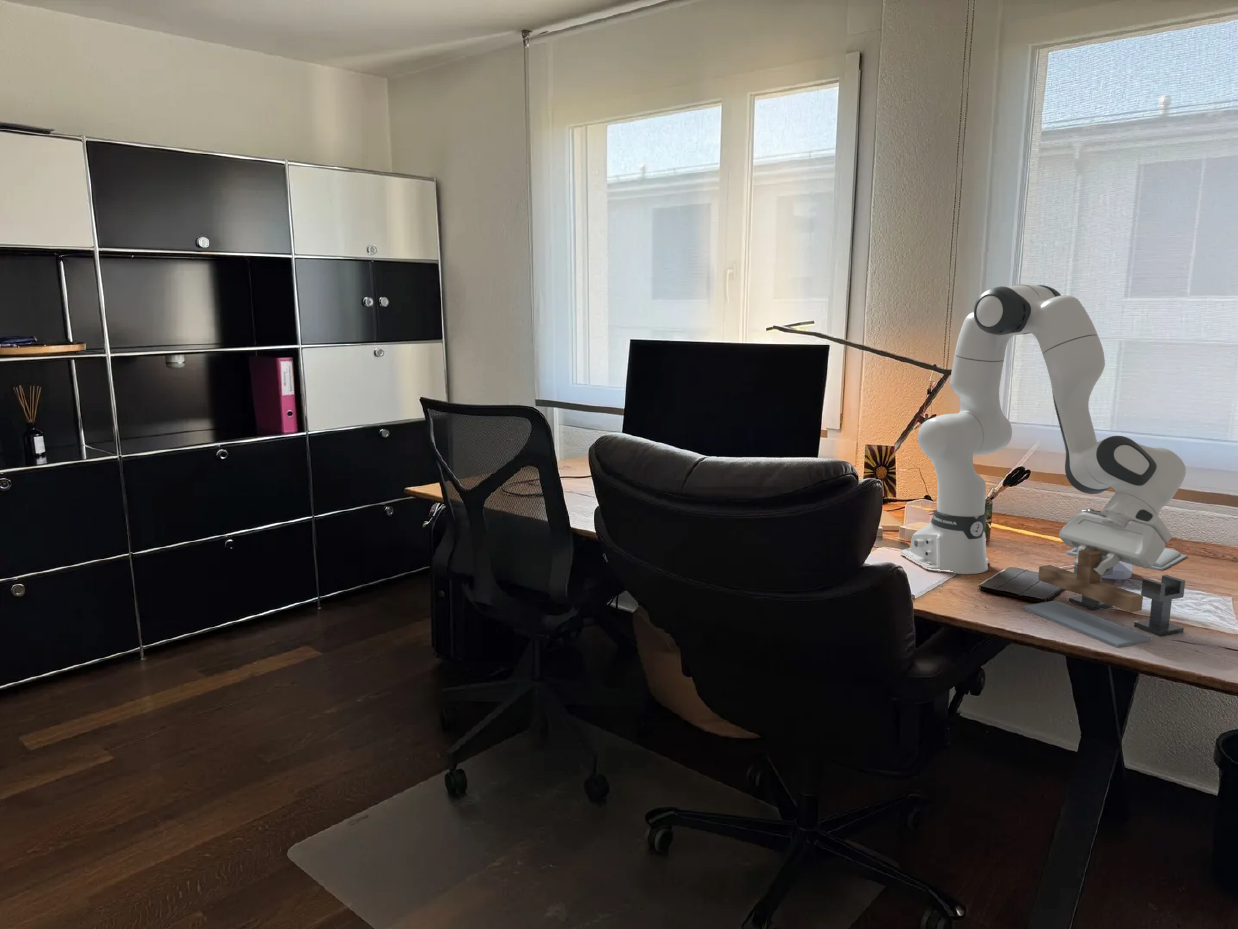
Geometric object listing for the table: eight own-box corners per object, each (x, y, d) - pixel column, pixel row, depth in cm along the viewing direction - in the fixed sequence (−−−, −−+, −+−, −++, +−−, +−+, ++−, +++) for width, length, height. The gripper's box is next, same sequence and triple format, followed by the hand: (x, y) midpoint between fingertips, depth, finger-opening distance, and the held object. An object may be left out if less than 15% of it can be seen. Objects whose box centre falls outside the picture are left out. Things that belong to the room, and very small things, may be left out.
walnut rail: (1038, 580, 183) (1041, 539, 181) (1049, 578, 184) (1051, 538, 182) (1130, 612, 162) (1134, 567, 161) (1141, 610, 163) (1145, 565, 162)
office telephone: (1188, 550, 218) (1162, 566, 205) (1186, 559, 219) (1161, 576, 206) (1091, 532, 235) (1061, 546, 222) (1090, 541, 236) (1060, 555, 223)
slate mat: (1022, 608, 183) (1022, 606, 183) (1054, 603, 186) (1054, 600, 186) (1116, 647, 162) (1117, 644, 162) (1151, 640, 165) (1151, 637, 165)
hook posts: (1067, 602, 187) (1071, 556, 185) (1089, 598, 189) (1093, 552, 187) (1160, 637, 167) (1166, 586, 165) (1184, 632, 169) (1190, 582, 167)
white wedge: (1131, 586, 197) (1131, 571, 208) (1133, 558, 195) (1134, 544, 206) (1087, 580, 201) (1089, 566, 212) (1089, 553, 200) (1091, 540, 211)
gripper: (1076, 498, 182) (1038, 547, 180) (1165, 518, 163) (1124, 573, 161) (1090, 516, 184) (1052, 565, 182) (1180, 538, 165) (1139, 593, 164)
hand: (1086, 569), depth 172 cm, fingers closed on walnut rail, 3 cm apart
